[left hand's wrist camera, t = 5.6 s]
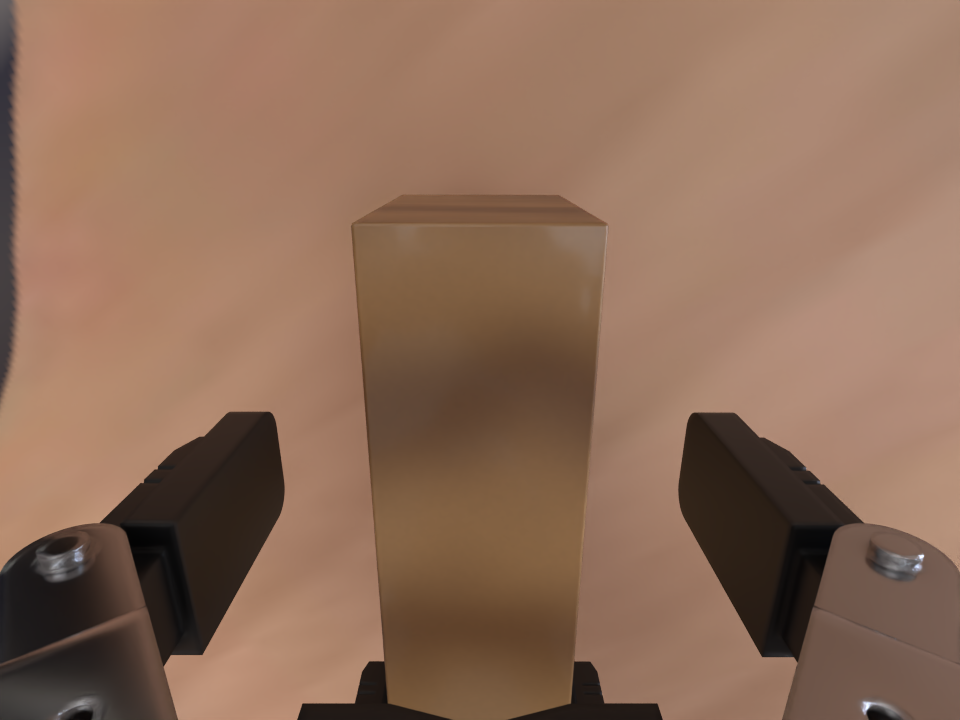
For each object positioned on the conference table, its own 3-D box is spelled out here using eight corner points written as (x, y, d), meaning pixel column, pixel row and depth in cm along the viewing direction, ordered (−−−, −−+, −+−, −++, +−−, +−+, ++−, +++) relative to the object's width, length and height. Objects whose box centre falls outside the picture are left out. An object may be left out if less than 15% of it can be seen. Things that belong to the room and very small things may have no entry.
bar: (400, 194, 21) (350, 222, 13) (560, 194, 21) (609, 222, 13) (422, 668, 29) (399, 866, 21) (537, 668, 29) (558, 867, 21)
